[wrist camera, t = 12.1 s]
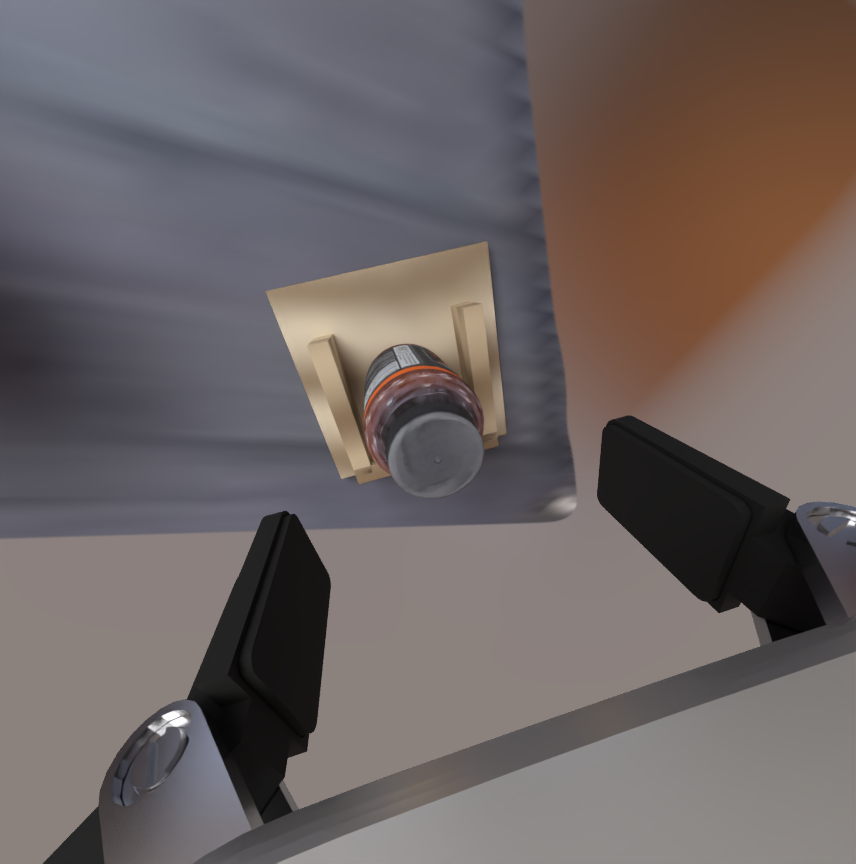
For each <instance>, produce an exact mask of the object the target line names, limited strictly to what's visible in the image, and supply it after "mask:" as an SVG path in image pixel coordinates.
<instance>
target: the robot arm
mask: <svg viewBox="0 0 856 864" xmlns="http://www.w3.org/2000/svg"><path fill="white" fill-rule="evenodd" d="M597 497H598V500H599V502H600V504H601V505H602V506H603V507H604V508H605V509H606V510H607V511H608V512H609V513H610V514H611V515H612V516H613V517H614V518H615V519H616V520H617V521H618V522H619V523H620V524H621V525H622V526H623V527H625V529H626V530H627V531H628V532H629V533H631V534H632V535H633V536H634V537H635V538H636V539H637V540H638V541H639V542H640V543H641V544H642V545H643V546H644V547H645V548H646V549H647V550H648V551H649V552H650V553H651V554H652V555H653V556H654V557H655V558H656V559H657V560H658V561H659V562H661V563H662V564H663V565H664V566H665V567H666V568H667V569H668V570H669V571H670V572H671V573H672V574H673V575H674V576H675V577H676V578H677V579H678V580H679V581H680V582H681V583H682V584H683V585H684V586H685V587H686V588H687V589H688V590H689V591H691V593H692V594H694V595H695V596H696V597H697V598H698V599H700V600H702V601H705V602H708V603H709V604H710V605H711V606H712V607H713V608H714V609H715V610H716V611H717V612H718V613H721V612H724V611H727V610H730V609H733V608H736V607H739V605H740V603H743V604H744V605H745V606H746V607H747V608H748V609H750V610H751V614H752V617H753V621H754V624H755V628H756V631H757V635H758V638H759V642H760V645H761V646H760V647H757V648H755V649H752V650H749V651H746V652H743V653H740V654H737V655H734V656H731V657H728V658H725V659H722V660H719V661H717V662H713V663H710V664H708V665H705V666H702V667H699V668H696V669H693V670H690V671H687V672H684V673H681V674H678V675H675V676H672V677H670V678H667V679H664V680H661V681H658V682H655V683H652V684H649V685H646V686H644V687H641V688H638V689H635V690H632V691H629V692H627V693H623V694H620V695H618V696H615V697H612V698H609V699H606V700H603V701H600V702H597V703H595V704H592V705H589V706H586V707H583V708H580V709H577V710H575V711H571V712H569V713H566V714H563V715H560V716H557V717H554V718H551V719H549V720H546V721H543V722H540V723H537V724H534V725H531V726H528V727H526V728H523V729H520V730H517V731H514V732H511V733H509V734H506V735H503V736H500V737H497V738H494V739H491V740H489V741H486V742H483V743H480V744H477V745H474V746H472V747H469V748H466V749H463V750H460V751H458V752H455V753H452V754H449V755H446V756H443V757H441V758H438V759H435V760H432V761H429V762H426V763H424V764H421V765H418V766H415V767H412V768H409V769H407V770H404V771H401V772H398V773H395V774H393V775H390V776H387V777H384V778H382V779H379V780H376V781H374V782H371V783H368V784H365V785H363V786H360V787H357V788H355V789H352V790H350V791H347V792H344V793H341V794H339V795H336V796H334V797H331V798H328V799H326V800H323V801H320V802H318V803H315V804H312V805H310V806H308V807H304V808H302V809H299V808H298V807H297V805H296V803H295V801H294V799H293V797H292V795H291V794H290V792H289V790H288V788H287V786H286V784H285V783H284V781H283V779H284V777H285V771H286V765H287V758H289V757H292V756H295V755H298V754H301V753H303V752H307V747H308V739H309V733H312V732H314V730H315V727H316V724H317V717H318V707H319V697H320V687H321V677H322V667H323V658H324V648H325V638H326V628H327V618H328V608H329V599H330V589H331V583H330V577H329V574H328V572H327V570H326V569H325V567H324V565H323V563H322V562H321V559H320V558H319V556H318V554H317V552H316V550H315V548H314V546H313V545H312V543H311V541H310V539H309V537H308V535H307V534H306V532H305V530H304V528H303V526H302V524H301V523H300V521H299V519H298V517H297V516H296V515H295V514H291V515H290V514H289V513H288V512H287V511H283V512H279V513H275V514H272V515H268V516H265V517H263V519H262V521H261V523H260V526H259V528H258V530H257V533H256V536H255V538H254V540H253V543H252V545H251V548H250V550H249V552H248V555H247V557H246V560H245V562H244V565H243V567H242V570H241V572H240V574H239V577H238V578H237V580H236V582H235V584H234V587H233V589H232V591H231V594H230V596H229V599H228V601H227V603H226V606H225V608H224V611H223V613H222V616H221V618H220V620H219V623H218V626H217V628H216V630H215V633H214V635H213V638H212V640H211V643H210V645H209V647H208V649H207V652H206V654H205V657H204V659H203V662H202V664H201V666H200V669H199V671H198V674H197V676H196V679H195V681H194V683H193V686H192V688H191V691H190V693H189V696H188V698H187V699H185V700H180V701H176V702H173V703H171V704H169V705H167V706H165V707H163V708H161V709H160V710H158V711H157V712H156V713H155V714H153V715H152V716H151V717H149V718H148V719H147V720H146V721H145V722H144V723H143V724H142V725H141V726H140V727H139V728H138V729H137V730H136V731H135V732H134V733H133V734H132V735H131V736H130V738H129V739H128V740H127V741H126V743H125V744H124V745H123V747H122V748H121V749H120V751H119V752H118V753H117V755H116V757H115V758H114V760H113V762H112V764H111V766H110V767H109V769H108V771H107V773H106V776H105V778H104V781H103V784H102V787H101V789H100V795H99V806H98V807H97V808H96V809H95V810H94V811H93V812H92V813H91V814H90V815H89V816H88V817H87V818H86V819H85V821H84V822H83V823H82V824H81V825H80V826H79V827H78V828H77V829H76V830H75V831H74V832H73V833H72V834H71V835H70V836H69V837H68V838H67V839H66V840H65V841H64V842H63V843H62V844H61V845H60V847H59V848H58V849H56V851H54V853H53V854H52V855H51V856H50V857H49V858H48V859H47V860H46V861H45V862H44V863H43V864H856V508H855V507H852V506H848V505H843V504H838V503H831V502H812V503H806V504H804V505H801V506H799V507H798V509H797V510H796V512H795V514H794V513H793V512H791V511H789V510H787V509H786V507H787V505H788V503H789V501H790V499H789V498H787V497H785V496H783V495H782V494H780V493H778V492H776V491H774V490H772V489H770V488H768V487H766V486H764V485H762V484H760V483H759V482H757V481H755V480H753V479H751V478H749V477H747V476H745V475H743V474H742V473H740V472H738V471H736V470H734V469H732V468H730V467H728V466H726V465H724V464H723V463H720V462H719V461H717V460H715V459H713V458H711V457H709V456H707V455H705V454H704V453H702V452H700V451H698V450H696V449H694V448H692V447H690V446H688V445H686V444H685V443H683V442H681V441H679V440H677V439H675V438H673V437H671V436H669V435H667V434H665V433H664V432H662V431H660V430H658V429H656V428H654V427H652V426H650V425H648V424H646V423H644V422H643V421H641V420H639V419H637V418H635V417H633V416H625V417H621V418H617V419H613V420H611V421H609V422H608V423H607V425H606V427H604V429H603V432H602V443H601V455H600V466H599V478H598V490H597Z"/></svg>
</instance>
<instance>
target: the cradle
mask: <svg viewBox="0 0 856 864" xmlns="http://www.w3.org/2000/svg"><path fill="white" fill-rule="evenodd" d="M265 292H266V294H267V297H268V299H269V302H270V304H271V307H272V309H273V311H274V314H275V316H276V319H277V321H278V324H279V326H280V329H281V331H282V334H283V336H284V339H285V341H286V343H287V346H288V348H289V351H290V353H291V356H292V358H293V361H294V363H295V366H296V368H297V371H298V373H299V376H300V378H301V380H302V383H303V385H304V388H305V390H306V393H307V395H308V398H309V400H310V403H311V405H312V408H313V410H314V412H315V415H316V417H317V420H318V422H319V425H320V427H321V430H322V432H323V435H324V437H325V440H326V442H327V445H328V447H329V449H330V452H331V454H332V457H333V459H334V462H335V464H336V467H337V469H338V472H339V474H340V477H341V479H343V478H347V477H351V476H354V475H356V478H357V480H358V483H359V484H362V483H366V482H369V481H373V480H376V479H380V478H384V477H387V476H391V475H389V474H387V473H386V472H385V471H384V470H382V469H381V468H380V467H379V466H378V465H377V463H376V462H375V461H374V460H373V458H372V457H371V455H370V453H369V451H368V448H367V445H366V442H365V437H364V422H363V420H364V416H363V415H364V391H365V379H366V375H367V372H368V369H369V367H370V365H371V363H372V362H373V360H374V359H375V358H376V357H377V356H378V355H379V354H380V353H381V352H382V351H384V350H385V349H387V348H389V347H392V346H395V345H399V344H416V345H419V346H422V347H425V348H426V349H428V350H430V351H432V352H433V353H435V354H436V355H437V356H438V357H439V358H440V359H441V360H442V361H443V362H444V363H445V364H446V365H448V367H449V368H451V369H452V370H453V371H454V372H455V373H456V374H457V375H458V376H460V378H461V379H462V380H464V382H465V383H466V384H468V385H469V386H470V388H471V389H472V390H473V391H474V393H475V394H476V396H477V398H478V399H479V401H480V404H481V407H482V409H483V415H484V431H483V436H482V440H483V444H484V450H485V449H489V448H493V447H496V446H499V444H498V436H501V435H504V434H507V432H506V422H505V412H504V402H503V392H502V382H501V372H500V362H499V351H498V341H497V331H496V321H495V311H494V301H493V291H492V281H491V271H490V261H489V251H488V241H486V242H481V243H477V244H473V245H468V246H464V247H459V248H455V249H450V250H446V251H442V252H437V253H433V254H428V255H424V256H419V257H415V258H411V259H406V260H402V261H397V262H393V263H388V264H384V265H380V266H375V267H371V268H366V269H362V270H358V271H353V272H349V273H344V274H340V275H335V276H331V277H327V278H322V279H318V280H313V281H309V282H304V283H300V284H296V285H291V286H287V287H282V288H278V289H273V290H269V291H265Z"/></svg>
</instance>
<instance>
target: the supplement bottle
mask: <svg viewBox="0 0 856 864" xmlns="http://www.w3.org/2000/svg"><path fill="white" fill-rule="evenodd" d="M363 416H364V420H363V422H364V437H365V442H366V445H367V448H368V451H369V453H370V455H371V457H372V458H373V460H374V461H375V462H376V463H377V465H378V466H379V467H380V468H381V469H382V470H384V471H385V472H386V473H387V474H389V475H391V476H392V478H393V479H394V480H395V482H396V484H397V485H398V486H399V487H400V488H402V489H403V490H404V491H406V492H407V493H409V494H411V495H413V496H417V497H421V498H441V497H446V496H448V495H451V494H454V493H456V492H458V491H459V490H461V489H462V488H464V487H465V486H466V485H468V484H469V483H470V482H471V481H472V480H473V478H474V477H475V476H476V475H477V473H478V471H479V469H480V467H481V465H482V462H483V457H484V444H483V440H482V436H483V431H484V415H483V409H482V407H481V404H480V401H479V399H478V398H477V396H476V394H475V393H474V391H473V390H472V389H471V388H470V386H469V385H468V384H466V383H465V382H464V380H462V379H461V378H460V376H458V375H457V374H456V373H455V372H454V371H453V370H452V369H451V368H449V367H448V365H446V364H445V363H444V362H443V361H442V360H441V359H440V358H439V357H438V356H437V355H436V354H435V353H433V352H432V351H430V350H428V349H426V348H425V347H422V346H419V345H416V344H399V345H395V346H392V347H389V348H387V349H385V350H384V351H382V352H381V353H380V354H379V355H378V356H377V357H376V358H375V359H374V360H373V362H372V363H371V365H370V367H369V369H368V372H367V375H366V379H365V391H364V415H363Z"/></svg>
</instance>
